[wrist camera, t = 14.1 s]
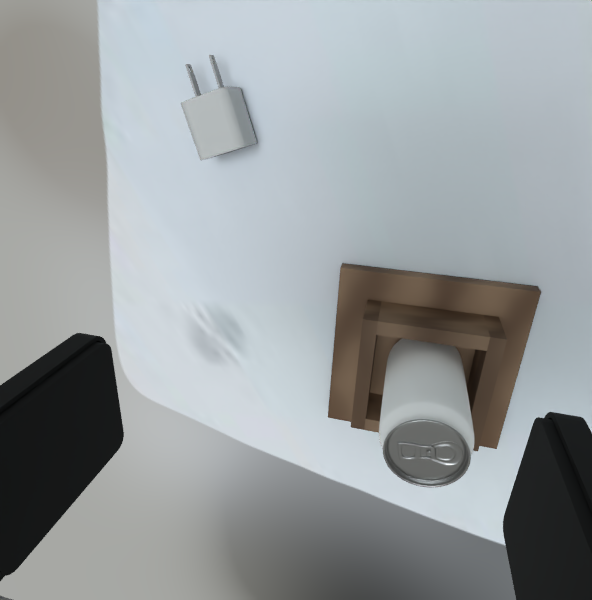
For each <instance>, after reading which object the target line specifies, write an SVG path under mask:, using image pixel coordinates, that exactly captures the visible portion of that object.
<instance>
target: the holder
mask: <svg viewBox="0 0 592 600" xmlns="http://www.w3.org/2000/svg"><path fill="white" fill-rule="evenodd" d="M540 294H541V291H540V290H539V288H538V286H529V285H521V284H513V283H504V282H496V281H487V280H479V279H470V278H462V277H453V276H445V275H436V274H428V273H419V272H411V271H402V270H394V269H385V268H377V267H369V266H360V265H352V264H342V266H341V269H340V281H339V292H338V304H337V316H336V328H335V340H334V352H333V363H332V375H331V387H330V399H329V411H328V417H329V418H334V419H339V420H345V421H350V422H351V427H352V428H358V429H363V430H368V431H374V432H379V424H380V415H381V407H382V398H383V390H384V382H385V374H386V367H387V360H388V356H389V353H390V351H391V349H392V347H393V346H394V345H395V344H396V343H397V342H398V341H399V340H401V339H409V340H415V341H422V342H429V343H436V344H443V345H449V346H455V347H456V348H457V350H458V352H459V354H460V356H461V360H462V364H463V369H464V375H465V381H466V387H467V393H468V399H469V405H470V411H471V417H472V423H473V430H474V449H473V450H474V451H478V449H479V446H484V447H489V448H494V449H497V445H498V442H499V438H500V435H501V431H502V428H503V424H504V421H505V417H506V413H507V410H508V406H509V403H510V399H511V396H512V392H513V389H514V385H515V382H516V378H517V375H518V371H519V368H520V364H521V361H522V357H523V354H524V350H525V347H526V343H527V340H528V336H529V333H530V329H531V326H532V322H533V319H534V315H535V311H536V308H537V304H538V301H539V297H540Z"/></svg>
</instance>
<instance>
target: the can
mask: <svg viewBox="0 0 592 600" xmlns="http://www.w3.org/2000/svg"><path fill="white" fill-rule="evenodd" d="M379 440H380V444H381V447H382V449H383V455H384V459H385V461H386V463H387V465H388V467H389V468H390V469H391V471H392V472H393V473H394V474H395V475H397V476H398V477H399V478H401V479H402V480H404V481H406V482H408V483H411V484H414V485H417V486H422V487H441V486H445V485H448V484H451V483H453V482H455V481H457V480H458V479H459V478H461V477H462V476H463V475H464V474H465V472H466V471H467V469H468V467H469V464H470V460H471V454H472V452H473V449H474V430H473V423H472V417H471V411H470V405H469V399H468V393H467V387H466V381H465V375H464V369H463V364H462V360H461V356H460V354H459V352H458V350H457V348H456V347H455V346H449V345H443V344H436V343H429V342H422V341H415V340H409V339H401V340H399V341H398V342H397V343H396V344H395V345H394V346H393V347H392V349H391V351H390V353H389V356H388V360H387V367H386V374H385V382H384V390H383V398H382V407H381V415H380V424H379Z"/></svg>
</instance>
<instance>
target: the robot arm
mask: <svg viewBox="0 0 592 600" xmlns="http://www.w3.org/2000/svg"><path fill="white" fill-rule="evenodd" d="M123 437H124V432H123V425H122V419H121V412H120V405H119V399H118V392H117V385H116V379H115V372H114V365H113V358H112V351H111V347H110V346H109V345H108V344H106V342H105V340H104V338H102V337H100V336H94V335H88V334H82V333H77V334H75V335H73V336H71V337H70V338H68V339H67V340H65V341H64V342H63V343H61V344H60V345H58V346H57V347H56V348H54V349H52V350H51V351H49V352H48V353H47V354H45V355H44V356H42V357H41V358H39V359H38V360H36V361H35V362H34V363H32V364H31V365H29V366H28V367H26V368H25V369H23V370H22V371H20V372H19V373H18V374H16V375H15V376H13V377H12V378H11V379H9V380H7V381H6V382H5V383H3V384H2V385H0V581H1V580H2V579H3V577H4V576H5V575H10V574H11V573H13V572H14V571H15V570H16V569H17V568H18V567H19V566H20V565H21V564H22V562H23V561H24V560H25V559H26V558H27V556H28V555H29V554H30V553H31V552H32V551H33V550H34V548H35V547H36V546H37V545H38V544H39V542H40V541H41V540H42V539H43V537H45V535H46V534H47V533H48V532H49V531H50V530H51V528H52V527H53V526H54V525H55V524H56V522H57V521H58V520H59V519H60V518H61V517H62V515H63V514H64V513H65V512H66V511H67V509H68V508H69V507H70V506H71V505H72V503H73V502H74V501H75V500H76V499H77V498H78V497H79V495H80V494H81V493H82V492H83V491H84V489H85V488H86V487H87V486H88V485H89V484H90V482H91V481H92V480H93V479H94V478H95V477H96V475H97V474H98V473H99V472H100V471H101V470H102V468H103V467H104V466H105V465H106V464H107V462H108V461H109V460H110V459H111V458H112V457H113V455H114V454H115V453H116V452H117V451H118V449H119V448H120V446H121V444H122V441H123ZM503 532H504V539H505V544H506V548H507V554H508V559H509V564H510V569H511V574H512V580H513V585H514V590H515V595H516V600H592V433H591V431H590V429H589V427H588V425H587V423H586V421H585V420H584V419H583V418H581V417H577V416H571V415H566V414H560V413H554V412H549V413H547V415H546V416H545V418H536V419H535V421H534V423H533V426H532V429H531V433H530V436H529V439H528V442H527V445H526V448H525V451H524V455H523V458H522V461H521V464H520V467H519V470H518V474H517V477H516V480H515V483H514V486H513V489H512V492H511V496H510V499H509V502H508V505H507V508H506V511H505V515H504V521H503ZM0 600H12V599H8V598H5V597H2V596H0Z"/></svg>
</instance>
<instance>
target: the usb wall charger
mask: <svg viewBox="0 0 592 600" xmlns="http://www.w3.org/2000/svg"><path fill="white" fill-rule="evenodd" d="M209 58H210V61H211V65H212V68H213V71H214V74H215V77H216V81H217V84H218V87H219V89H216V90H213V91H211V92H208V93H205V94H203V95H201V93H200V90H199V87H198V84H197V81H196V78H195V75H194V73H193V70H192V67H191V65H190V64H186V68H187V71H188V75H189V78H190V81H191V84H192V87H193V90H194V93H195V96H196V97H194V98H192V99H189V100H186V101H184V102H182V103H181V106H182V109H183V111H184V114H185V117H186V120H187V123H188V126H189V129H190V131H191V134H192V137H193V140H194V143H195V146H196V149H197V151H198V154H199V157H200V160H204V159H208V158H211V157H215V156H218V155H222V154H225V153H228V152H231V151H234V150H237V149H240V148H244V147H247V146H250V145H253V144H256V143H257V141H256V138H255V134H254V131H253V128H252V125H251V121H250V118H249V115H248V111H247V108H246V105H245V102H244V98H243V95H242V92H241V89H240V87H224V85H223V82H222V79H221V76H220V73H219V70H218V67H217V64H216V61H215V58H214V56H213V55H209ZM212 59H213V60H212ZM213 62H214V63H213ZM189 69H190V70H189ZM190 71H191V72H190Z"/></svg>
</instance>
